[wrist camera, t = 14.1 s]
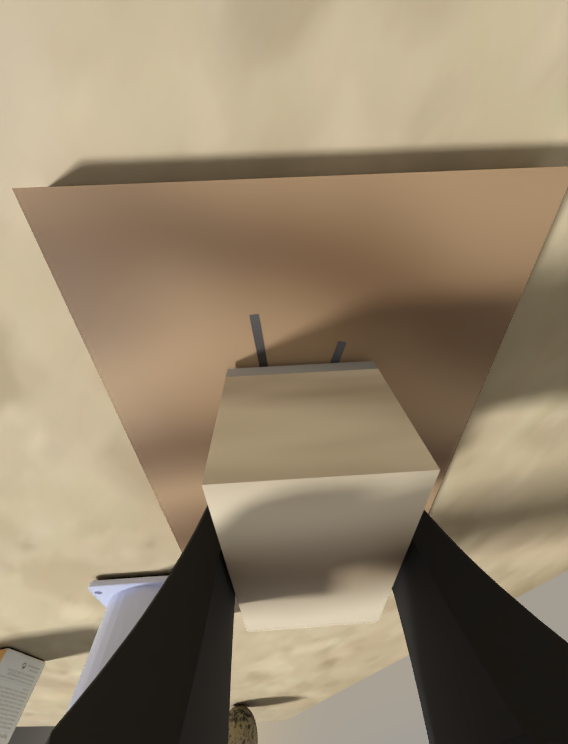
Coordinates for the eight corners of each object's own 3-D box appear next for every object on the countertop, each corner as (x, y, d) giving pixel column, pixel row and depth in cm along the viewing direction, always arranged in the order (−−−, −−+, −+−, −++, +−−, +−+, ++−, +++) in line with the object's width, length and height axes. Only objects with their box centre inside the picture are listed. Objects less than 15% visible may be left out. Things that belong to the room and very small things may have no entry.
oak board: (403, 534, 19) (411, 553, 18) (194, 548, 19) (189, 569, 18) (538, 168, 8) (577, 165, 7) (44, 188, 8) (12, 188, 7)
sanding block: (349, 510, 15) (377, 622, 11) (252, 517, 15) (247, 632, 11) (373, 360, 10) (440, 470, 6) (227, 369, 10) (201, 484, 6)
